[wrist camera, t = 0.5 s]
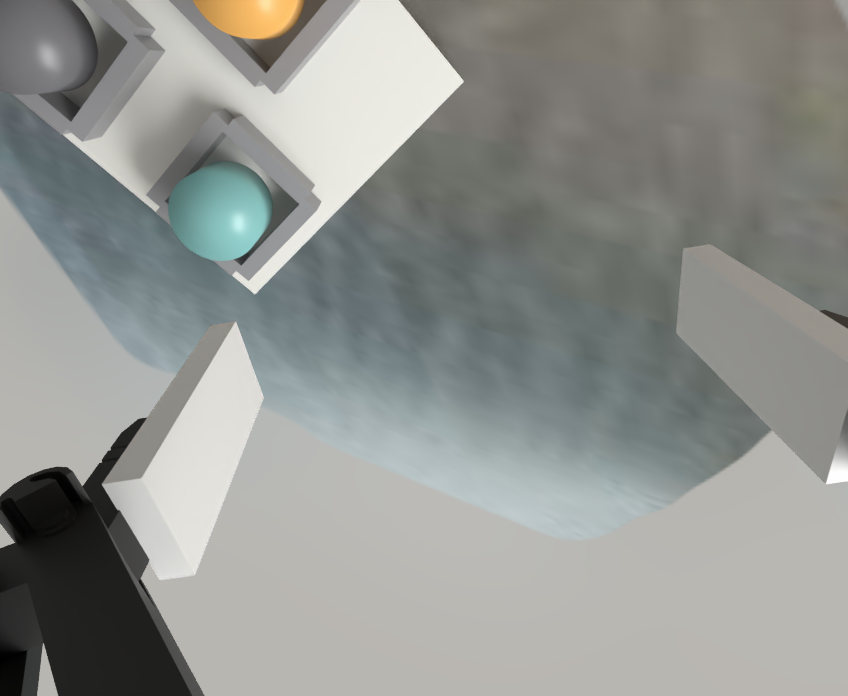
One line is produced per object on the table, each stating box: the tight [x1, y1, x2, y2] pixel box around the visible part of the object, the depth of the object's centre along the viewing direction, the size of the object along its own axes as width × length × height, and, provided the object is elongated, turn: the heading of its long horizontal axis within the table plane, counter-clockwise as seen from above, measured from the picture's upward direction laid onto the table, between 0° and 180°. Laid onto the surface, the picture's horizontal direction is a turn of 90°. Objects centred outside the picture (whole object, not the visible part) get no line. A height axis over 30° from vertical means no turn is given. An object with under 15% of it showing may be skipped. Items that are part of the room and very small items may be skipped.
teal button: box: [168, 161, 273, 261], centre depth 31 cm, size 5×5×4 cm
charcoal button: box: [0, 0, 98, 95], centre depth 27 cm, size 5×5×4 cm
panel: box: [13, 0, 464, 294], centre depth 31 cm, size 22×20×4 cm
